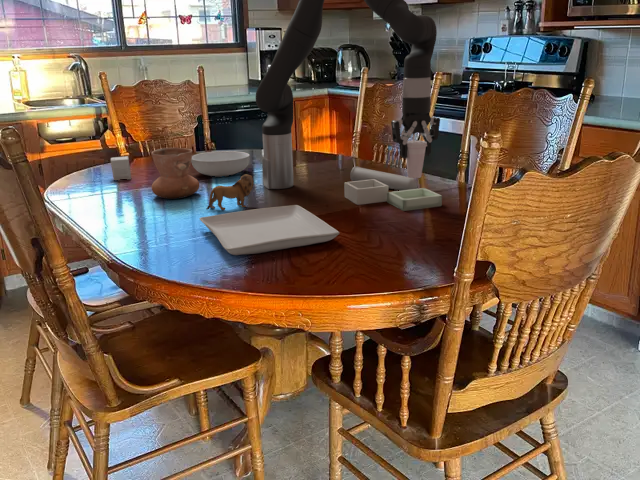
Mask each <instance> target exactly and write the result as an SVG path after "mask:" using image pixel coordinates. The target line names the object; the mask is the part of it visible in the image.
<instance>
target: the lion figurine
mask: <svg viewBox="0 0 640 480" xmlns="http://www.w3.org/2000/svg"><path fill="white" fill-rule="evenodd" d="M254 182H255V181H254V179H253V175H250V174H243V175H242V176H240V179H238V180H237V181H236V182H234V184H232V185H228V186H227V185H226V186H225V185H216V186H214V187H213V188H212V189H211V191H210V194H209V203H208V206H207V207H206V209H205V210H207V211H208V210H210V209H211V208H213V209H215V208H216V207H215V205H213V204H214V203H215V202H216V201H217V207H219V209H220V210H221V211H226V210H225V209H226V207H223V205H222V202H223V199H224V198H226V199H230V200H231V199H236V206H238V205H241V208H243V207H246V208H247V205H245V199H246V198H245V197H248V196H250V195H251V192H252V190H253V188H254Z"/></svg>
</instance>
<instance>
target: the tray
mask: <svg viewBox="0 0 640 480" xmlns="http://www.w3.org/2000/svg"><path fill="white" fill-rule="evenodd" d="M442 201H443V195H441V194H439V193H437V192H434V191H433V190H430V189H428V188H426V187H421V188H419V187H418V188H417V189H411V190H402V191H398V190H394V191H388V192H387V201H386V202H387V204H389V205H392V206H393V207H395V208H397V209H399V210H400V211H402V212H405V211H413V210H415V211H416V210H421V209H429V208H438V207H442V204H443V203H442Z"/></svg>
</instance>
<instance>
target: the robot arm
mask: <svg viewBox="0 0 640 480" xmlns="http://www.w3.org/2000/svg"><path fill="white" fill-rule="evenodd" d="M363 1H364V3H365V4H366V5H367V6H368V8H369V9H370V10H371V11H372V12H373V13H375V15H377V16H378V17H379V18H381V19H382V20H383V21H384V22H385V23H387V25H389V26H390V28H391V29H392V30H393V32H394V33H395V35H396V36H397V37H398V38H399V39H401V40H402V41H403V42H405V43H406V44H409V45H411V49H410V52H409V54H407V55H406V56H405V58H404V62H403V83H402V99H401V100H402V101H401V102H402V105H401V106H402V107H401V108H402V109H401V112H402V113H401V114H402V117H401V118H400V119H397V120H395V119H392V120H391V121H390V122H391V133H392V134H391V135H392V141H393V143H396V144H399V156H400V158H402V159H406V158H407V145H406V143H407V141H409V138H411V137H412V136H413V134H415V135H416V134H420V135H421V136H422V138H423V141H425V142H427V146H426V149H425V155H424V157H429V156H430V154H431V152H432V150H431V149H432V142H433V141H435V140H436V141H437V140H438V139H439V131H440V124H441V118H440V117H436V116H433V117H431V115H430V114H431V113H430V112H431V101H432V100H431V98H432V82H431V72H432V70H431V69H432V67H431V66H432V63H431V62H432V58H433V55H434V51H435V45H436V40H437V33H438V32H437V30H438V29H437V26H436V23H435V20H434V19H433V18H432V17H431V16H428V15H417V14H415V13H414V12H412V11H411V10H410V7H409V5H408V3H407V2H406V1H405V0H363ZM324 3H325V0H299V1H298V3H297V5H296V8H295V10H294V13H293V14H292V17H291V19H290V20H289V23H288V26H287V27H286V29H285V32H284V34H283V37H282V39H281V40H280V41H281V42H280V43H279V45H278V48H277V50H276V53H275V54H274V57H273V60H272V62H271V64H270V66H269V68H268V69H267V71H266V73H265V75H264V76H263V78H262V79H261V81H260V83H259V84H258V87H257V89H256V92H255V103H256V106H257V108H258V109H259V110H260V111H262V112H263V113H267V117H266V119H265V121H264V122H263V124H262V126H261V133H262V148H263V149H262V150H263V156H262V157H261V163H262V178H263V179H262V180H263V186H264V187H265V188H266V189H268V190H270V189H271V190H280V189H289V188H292V187H293V186H294V168H293V167H294V164H293V163H294V162H293V141H292V139H293V138H292V137H293V136H292V127H293V122H294V93H293V89H292V88H291V86H290V85H289V84H288V83H289V81H290V80H291V77H292V75H294V73H295V72H296V70H297V69H299V67H300V66H301V65H302V63H304V62H305V60H306V59H308V56H309V55H310V54H311V52H312V50H313V49H314V46H315V45H316V42H317V40H318V38H319V36H320V33H321V32H322V25H323V12H324V11H323V9H324ZM429 124H430V130H429ZM402 126H403V128H402ZM401 128H402V131H401Z"/></svg>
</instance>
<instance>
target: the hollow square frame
mask: <svg viewBox="0 0 640 480" xmlns="http://www.w3.org/2000/svg"><path fill="white" fill-rule="evenodd" d="M387 192H389V186H388V185H386V184H383V183H381V182H379V181H377V180H375V179H371V180H361V181H352V180H351V181H347V182H344V198H346V199H347V200H349V201H350V202H351V203H353V204H355V205H357V206H359V205H368V204H376V203H383V202H387Z"/></svg>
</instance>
